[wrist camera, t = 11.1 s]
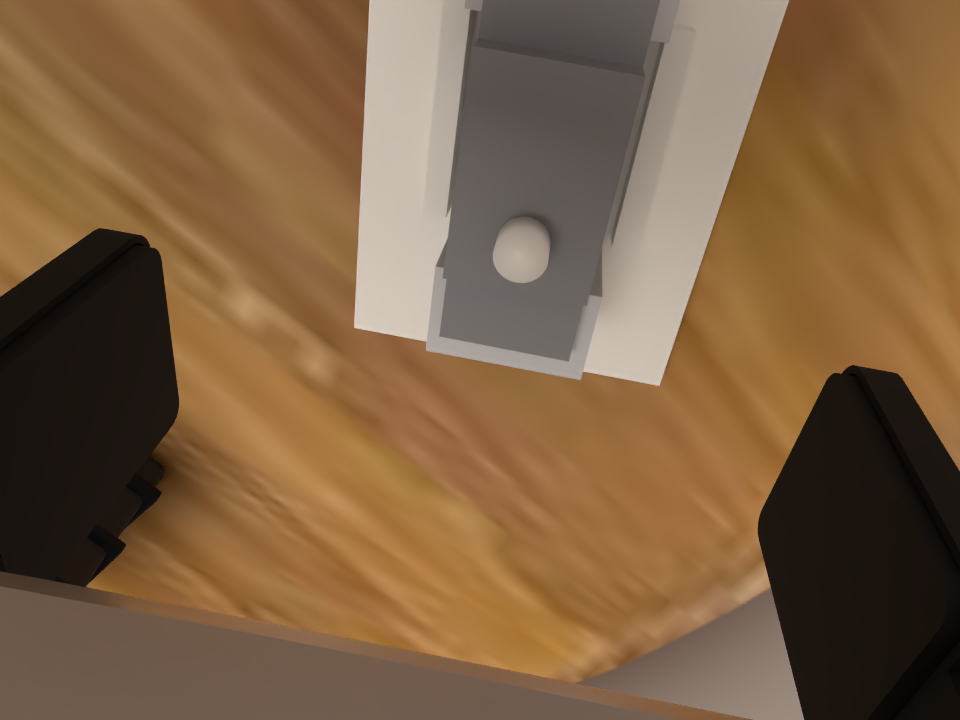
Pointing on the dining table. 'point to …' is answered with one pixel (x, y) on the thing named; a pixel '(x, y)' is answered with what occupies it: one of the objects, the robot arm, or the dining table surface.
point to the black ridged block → (113, 527)
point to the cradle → (638, 199)
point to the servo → (540, 166)
